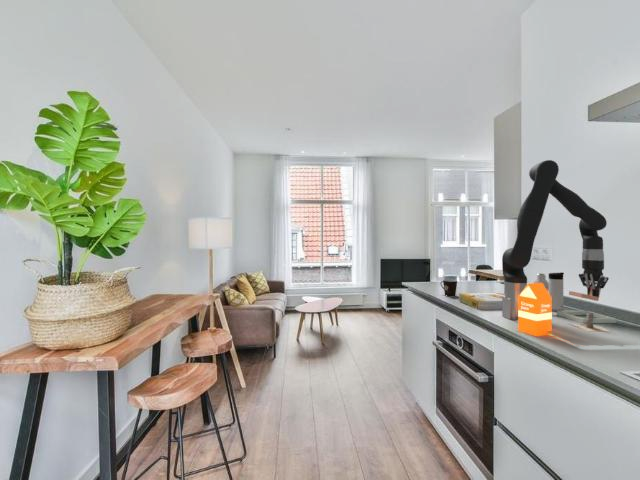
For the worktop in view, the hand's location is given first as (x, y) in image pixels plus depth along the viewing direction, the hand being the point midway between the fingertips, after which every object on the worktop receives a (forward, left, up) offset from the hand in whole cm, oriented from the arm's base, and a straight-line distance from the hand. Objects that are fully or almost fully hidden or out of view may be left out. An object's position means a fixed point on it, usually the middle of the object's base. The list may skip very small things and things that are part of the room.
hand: (593, 296), depth 140 cm
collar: (-3, 0, -1) cm, 4 cm away
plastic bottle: (-14, +14, -11) cm, 23 cm away
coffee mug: (-40, +63, -11) cm, 75 cm away
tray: (-4, 0, -11) cm, 12 cm away
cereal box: (-28, +34, -12) cm, 45 cm away
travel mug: (-2, +20, -11) cm, 23 cm away
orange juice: (-38, -16, -11) cm, 43 cm away
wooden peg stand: (-14, -14, -11) cm, 23 cm away
